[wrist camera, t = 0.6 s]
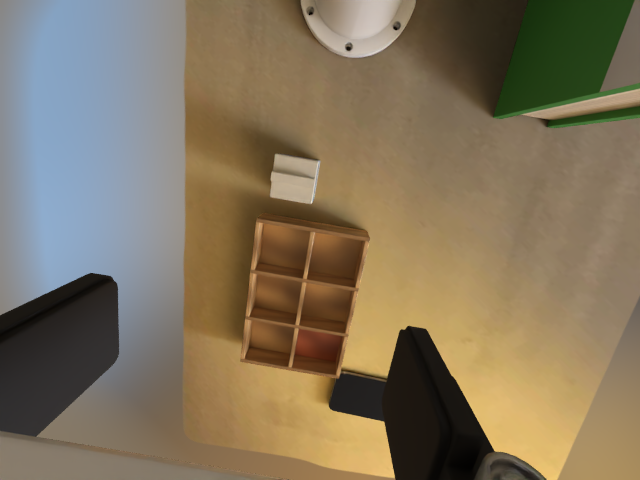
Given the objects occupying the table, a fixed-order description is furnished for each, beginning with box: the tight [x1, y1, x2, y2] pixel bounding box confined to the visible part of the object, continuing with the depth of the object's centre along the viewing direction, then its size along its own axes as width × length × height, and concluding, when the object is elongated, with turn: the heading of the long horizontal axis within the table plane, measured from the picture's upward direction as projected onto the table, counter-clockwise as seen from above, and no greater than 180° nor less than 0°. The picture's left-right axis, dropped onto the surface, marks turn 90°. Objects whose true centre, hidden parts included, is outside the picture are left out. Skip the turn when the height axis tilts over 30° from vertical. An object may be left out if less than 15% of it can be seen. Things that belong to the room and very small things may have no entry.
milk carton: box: [270, 153, 320, 204], centre depth 36 cm, size 5×5×6 cm
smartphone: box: [329, 371, 387, 421], centre depth 47 cm, size 7×1×15 cm
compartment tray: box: [240, 213, 370, 379], centre depth 42 cm, size 21×14×4 cm
